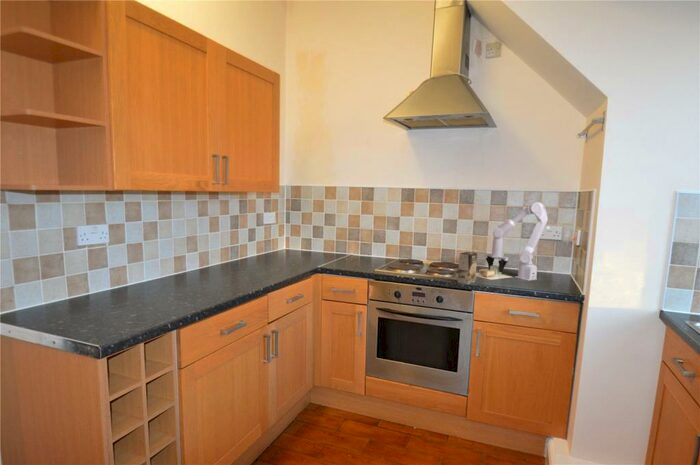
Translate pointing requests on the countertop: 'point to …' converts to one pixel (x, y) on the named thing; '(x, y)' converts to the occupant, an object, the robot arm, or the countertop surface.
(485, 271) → the beech base block
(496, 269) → the green cube
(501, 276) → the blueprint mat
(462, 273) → the coffee box
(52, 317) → the countertop surface
